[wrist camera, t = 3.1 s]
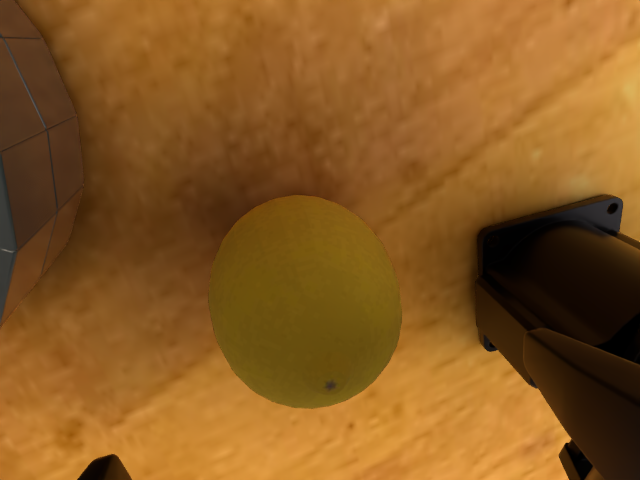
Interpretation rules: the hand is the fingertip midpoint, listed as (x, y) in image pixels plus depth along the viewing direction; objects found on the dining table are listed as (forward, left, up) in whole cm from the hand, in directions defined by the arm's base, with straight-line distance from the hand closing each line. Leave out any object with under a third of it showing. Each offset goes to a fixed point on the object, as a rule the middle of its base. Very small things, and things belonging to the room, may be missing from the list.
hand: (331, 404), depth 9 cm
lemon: (0, 0, -9) cm, 9 cm away
